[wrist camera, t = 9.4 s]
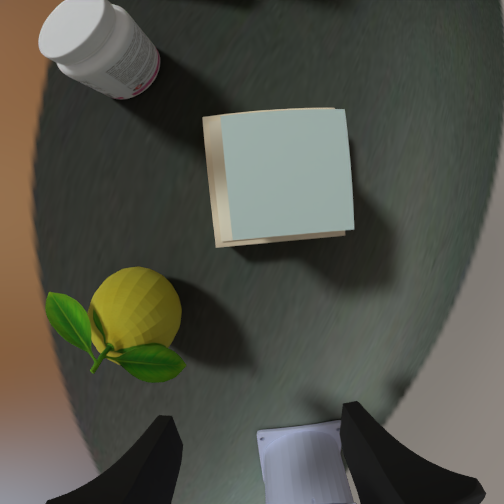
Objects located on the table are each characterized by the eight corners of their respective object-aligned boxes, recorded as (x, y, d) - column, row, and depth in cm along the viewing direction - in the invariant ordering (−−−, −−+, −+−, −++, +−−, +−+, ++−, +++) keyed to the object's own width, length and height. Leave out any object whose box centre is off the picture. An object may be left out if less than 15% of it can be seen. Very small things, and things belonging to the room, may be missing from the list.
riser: (334, 228, 20) (345, 236, 17) (220, 239, 20) (216, 248, 17) (324, 116, 18) (335, 107, 15) (208, 124, 18) (201, 116, 15)
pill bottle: (157, 33, 16) (113, -29, 8) (166, 88, 17) (115, 38, 9) (98, 55, 16) (35, 12, 8) (103, 109, 18) (30, 81, 9)
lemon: (101, 260, 20) (14, 315, 10) (171, 235, 20) (103, 286, 10) (135, 339, 22) (80, 426, 12) (204, 323, 21) (175, 421, 11)
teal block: (319, 211, 17) (354, 229, 11) (239, 218, 17) (232, 240, 11) (313, 132, 16) (344, 109, 10) (231, 138, 16) (220, 115, 10)
